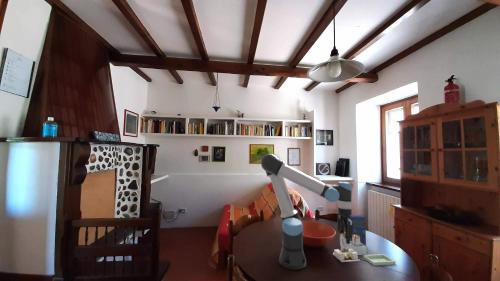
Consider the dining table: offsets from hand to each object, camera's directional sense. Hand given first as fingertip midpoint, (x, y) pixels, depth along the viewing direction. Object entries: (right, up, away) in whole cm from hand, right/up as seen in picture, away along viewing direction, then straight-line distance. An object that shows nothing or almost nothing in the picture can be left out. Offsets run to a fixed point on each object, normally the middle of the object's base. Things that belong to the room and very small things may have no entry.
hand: (344, 246), depth 124 cm
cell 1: (0, -2, 0) cm, 2 cm away
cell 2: (+11, -7, +7) cm, 14 cm away
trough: (+18, -7, -5) cm, 20 cm away
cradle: (0, -7, -1) cm, 7 cm away
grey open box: (+11, -7, +7) cm, 15 cm away
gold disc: (0, -6, -1) cm, 6 cm away
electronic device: (+17, -8, +17) cm, 26 cm away
